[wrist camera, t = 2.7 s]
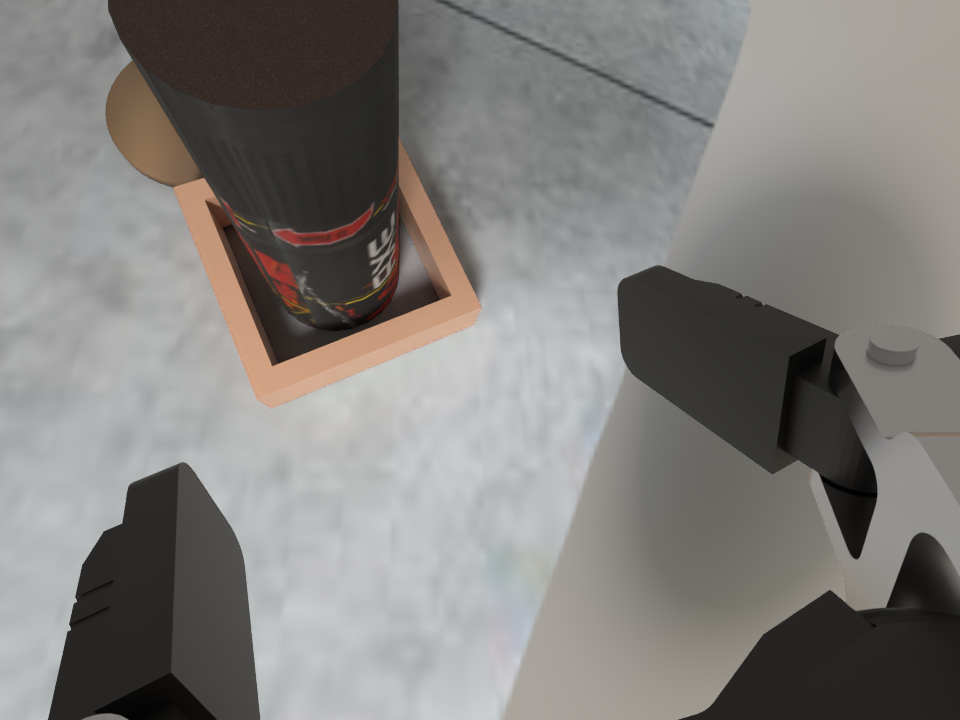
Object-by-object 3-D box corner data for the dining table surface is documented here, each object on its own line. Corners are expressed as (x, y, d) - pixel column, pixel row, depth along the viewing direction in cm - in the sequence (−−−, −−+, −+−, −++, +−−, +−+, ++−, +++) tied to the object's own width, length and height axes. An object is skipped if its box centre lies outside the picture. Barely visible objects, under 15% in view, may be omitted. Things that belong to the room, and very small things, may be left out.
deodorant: (292, 201, 27) (166, -148, 12) (411, 232, 27) (425, -68, 13) (253, 313, 25) (58, 63, 11) (381, 344, 26) (358, 143, 11)
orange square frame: (270, 408, 24) (256, 398, 22) (193, 216, 26) (172, 187, 23) (474, 324, 26) (481, 307, 24) (391, 153, 28) (391, 120, 26)
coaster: (143, 212, 26) (137, 205, 25) (90, 73, 27) (83, 64, 26) (308, 160, 27) (307, 153, 27) (252, 33, 29) (248, 23, 28)
